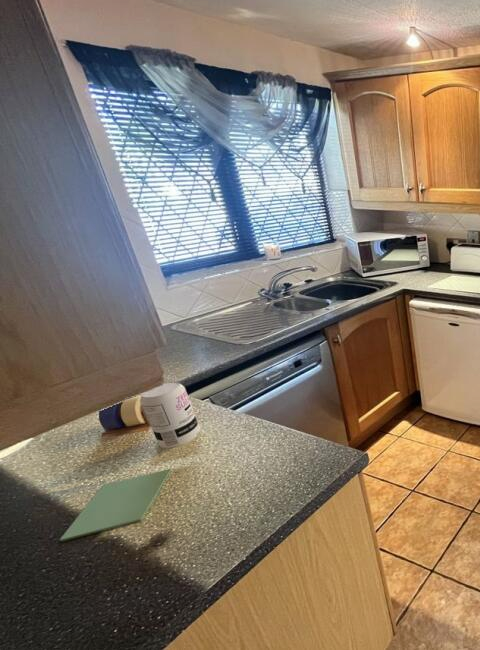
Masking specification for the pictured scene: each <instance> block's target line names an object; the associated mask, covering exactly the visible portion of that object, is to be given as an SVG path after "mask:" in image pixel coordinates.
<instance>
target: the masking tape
mask: <svg viewBox="0 0 480 650" xmlns="http://www.w3.org/2000/svg"><path fill="white" fill-rule="evenodd" d="M135 396H136V397H134V396H132V397H133V398H131V399H128V400H125V401H123V403H122V405H121V417H122V420H123V422H124V423H125V424H126V425H128V426H134V425H139V424H144V423H147V422H146V419H145V417H144V415H143V413H142V412H143V411H144V409H143V407H142V405H141V403H140V399H141V396H142V395H141V394H140V395H135Z"/></svg>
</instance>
